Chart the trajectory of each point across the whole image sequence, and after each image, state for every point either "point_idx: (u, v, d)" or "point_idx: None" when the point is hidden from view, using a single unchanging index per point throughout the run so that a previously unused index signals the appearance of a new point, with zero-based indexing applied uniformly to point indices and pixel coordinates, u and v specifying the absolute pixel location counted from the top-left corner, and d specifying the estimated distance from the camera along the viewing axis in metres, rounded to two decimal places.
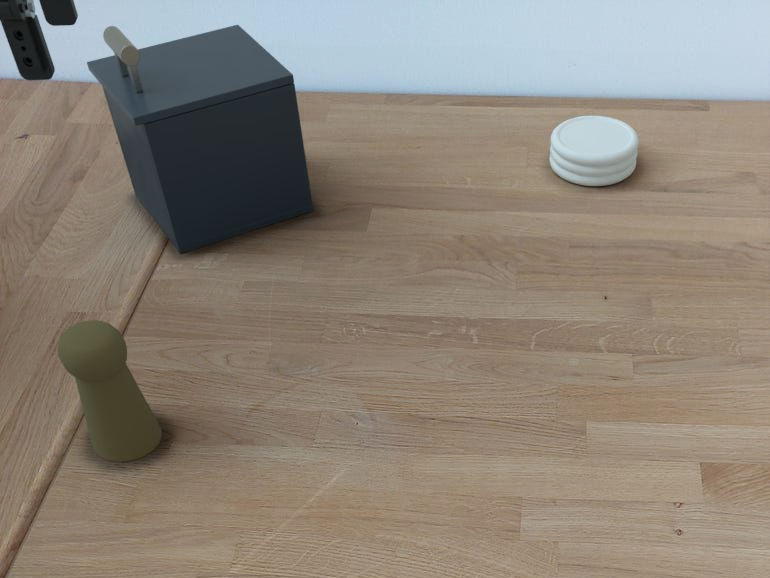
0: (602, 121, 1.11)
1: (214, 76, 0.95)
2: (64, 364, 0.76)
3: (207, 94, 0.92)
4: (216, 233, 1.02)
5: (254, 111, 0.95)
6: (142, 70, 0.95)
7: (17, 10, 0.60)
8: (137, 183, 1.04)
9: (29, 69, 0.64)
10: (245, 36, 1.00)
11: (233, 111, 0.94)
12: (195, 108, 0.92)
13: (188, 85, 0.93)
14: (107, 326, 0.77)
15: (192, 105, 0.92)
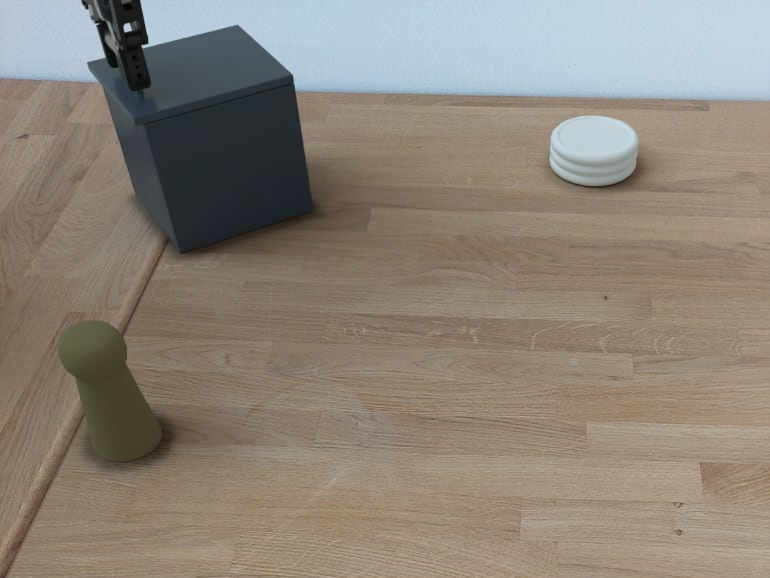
0: (602, 121, 1.11)
1: (214, 76, 0.95)
2: (64, 364, 0.76)
3: (207, 94, 0.92)
4: (216, 233, 1.02)
5: (254, 111, 0.95)
6: None
7: (147, 39, 0.87)
8: (137, 183, 1.04)
9: (139, 82, 0.91)
10: (245, 36, 1.00)
11: (233, 111, 0.94)
12: (195, 108, 0.92)
13: (188, 85, 0.93)
14: (107, 325, 0.77)
15: (192, 105, 0.92)
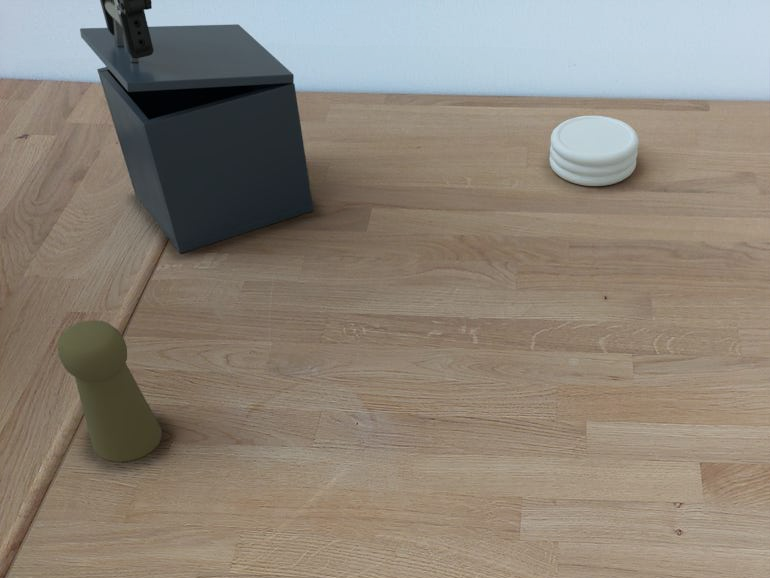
0: (602, 121, 1.11)
1: (213, 62, 0.94)
2: (64, 364, 0.76)
3: (205, 76, 0.91)
4: (216, 233, 1.02)
5: (254, 111, 0.95)
6: None
7: (150, 4, 0.85)
8: (137, 183, 1.04)
9: (141, 48, 0.89)
10: (245, 35, 1.00)
11: (233, 111, 0.94)
12: (191, 87, 0.91)
13: (186, 65, 0.92)
14: (107, 325, 0.77)
15: (189, 83, 0.90)
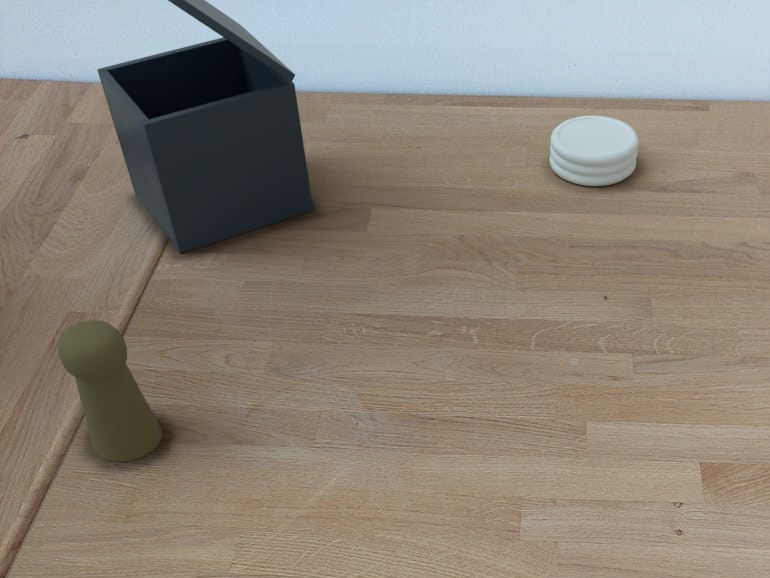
0: (602, 121, 1.11)
1: (223, 22, 0.92)
2: (64, 364, 0.76)
3: (218, 21, 0.89)
4: (216, 233, 1.02)
5: (254, 111, 0.95)
6: None
7: None
8: (137, 183, 1.04)
9: None
10: (248, 32, 1.00)
11: (233, 111, 0.94)
12: (202, 21, 0.87)
13: (199, 6, 0.89)
14: (107, 326, 0.77)
15: (202, 17, 0.87)
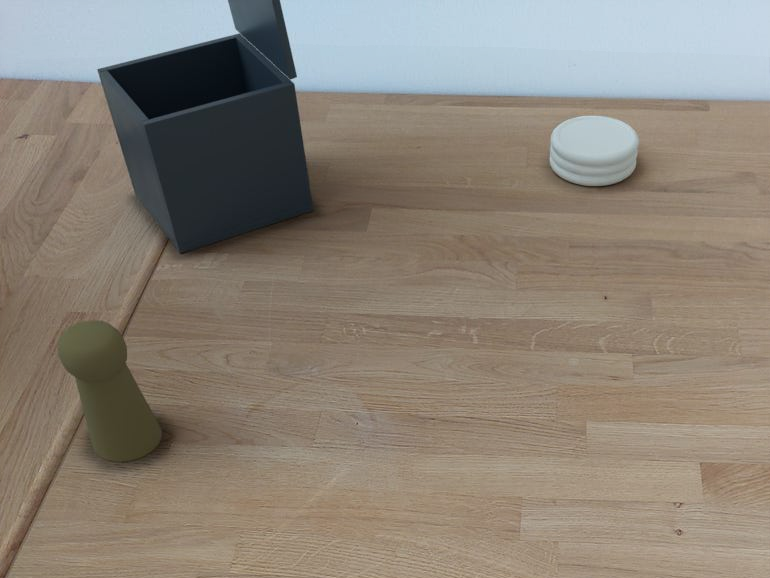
0: (602, 121, 1.11)
1: None
2: (64, 364, 0.76)
3: None
4: (216, 233, 1.02)
5: (254, 111, 0.95)
6: None
7: None
8: (137, 183, 1.04)
9: None
10: None
11: (233, 111, 0.94)
12: None
13: None
14: (107, 325, 0.77)
15: None
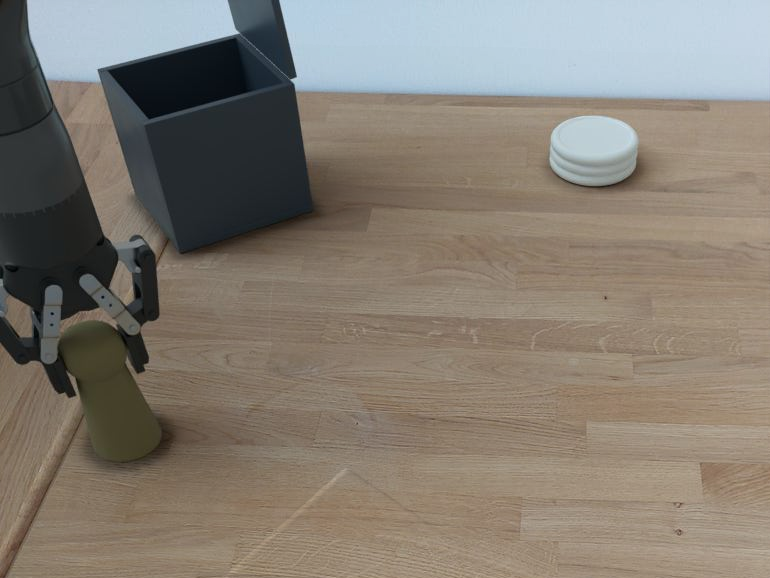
0: (602, 121, 1.11)
1: None
2: (64, 364, 0.76)
3: None
4: (216, 233, 1.02)
5: (254, 111, 0.95)
6: None
7: None
8: (137, 183, 1.04)
9: None
10: None
11: (233, 111, 0.94)
12: None
13: None
14: (106, 326, 0.77)
15: None
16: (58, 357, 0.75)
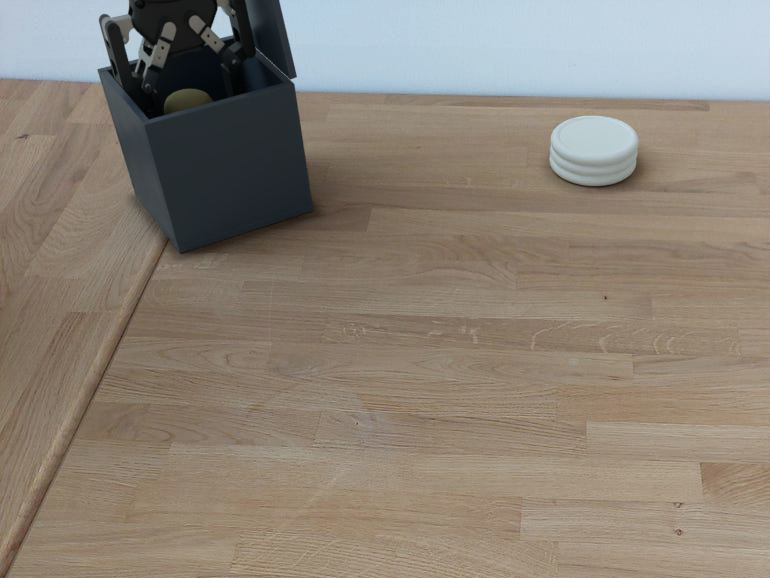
0: (602, 121, 1.11)
1: None
2: None
3: None
4: (216, 233, 1.02)
5: (254, 111, 0.95)
6: None
7: None
8: (137, 183, 1.04)
9: None
10: None
11: (233, 111, 0.94)
12: None
13: None
14: (202, 91, 0.98)
15: None
16: (154, 90, 0.95)
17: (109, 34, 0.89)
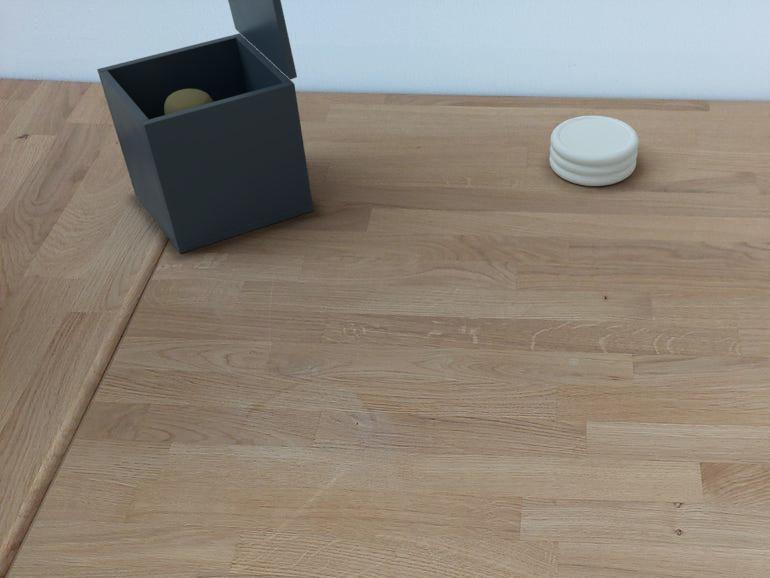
0: (602, 121, 1.11)
1: None
2: None
3: None
4: (216, 233, 1.02)
5: (254, 111, 0.95)
6: None
7: None
8: (137, 183, 1.04)
9: None
10: None
11: (233, 111, 0.94)
12: None
13: None
14: (202, 91, 0.98)
15: None
16: None
17: None
